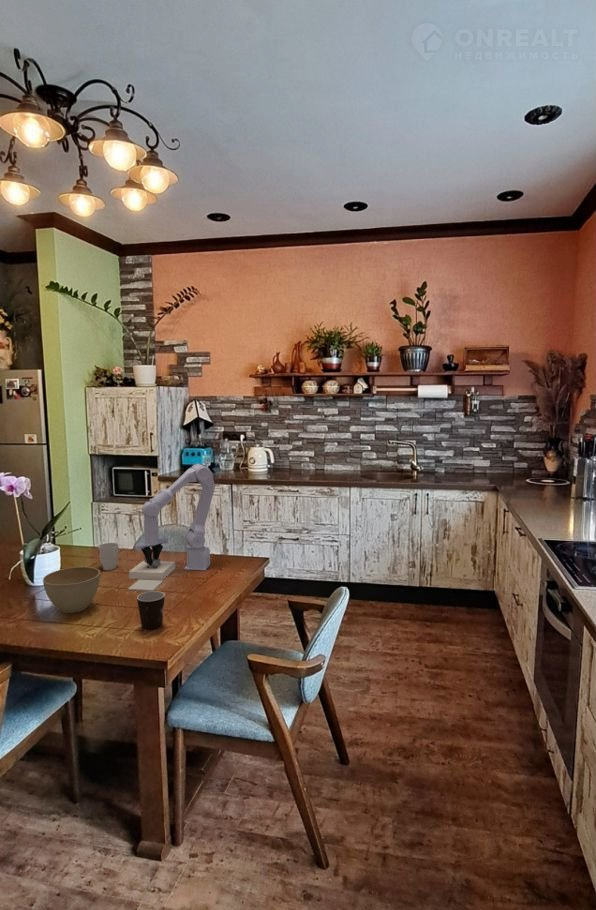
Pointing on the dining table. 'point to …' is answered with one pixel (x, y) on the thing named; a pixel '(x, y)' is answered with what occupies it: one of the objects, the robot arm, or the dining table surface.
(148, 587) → the grey mat
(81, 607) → the brown bowl
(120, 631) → the dining table surface
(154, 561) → the t key
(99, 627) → the dining table surface
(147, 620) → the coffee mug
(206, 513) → the robot arm
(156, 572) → the key housing
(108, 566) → the cup
